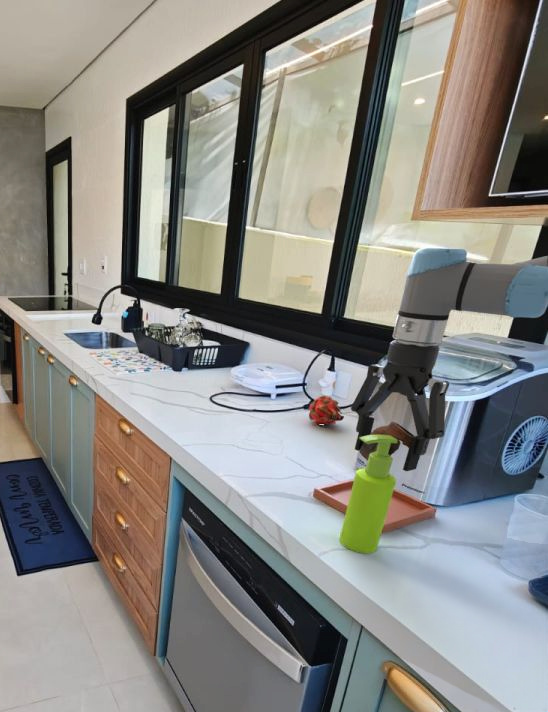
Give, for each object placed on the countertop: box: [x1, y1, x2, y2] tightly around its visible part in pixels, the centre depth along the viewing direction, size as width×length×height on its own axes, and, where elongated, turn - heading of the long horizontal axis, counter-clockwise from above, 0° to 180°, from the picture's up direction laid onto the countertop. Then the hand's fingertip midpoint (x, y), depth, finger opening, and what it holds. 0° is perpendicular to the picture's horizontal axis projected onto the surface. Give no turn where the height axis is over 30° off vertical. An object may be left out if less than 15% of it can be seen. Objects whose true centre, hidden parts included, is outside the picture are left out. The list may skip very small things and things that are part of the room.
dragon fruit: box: [308, 395, 345, 427], centre depth 144 cm, size 8×8×12 cm
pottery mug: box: [358, 420, 421, 462], centre depth 95 cm, size 12×10×8 cm
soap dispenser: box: [339, 435, 398, 554], centre depth 84 cm, size 6×7×20 cm
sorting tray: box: [312, 477, 438, 535], centre depth 100 cm, size 16×16×2 cm
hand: (383, 458), depth 96 cm, fingers closed on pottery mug, 9 cm apart
